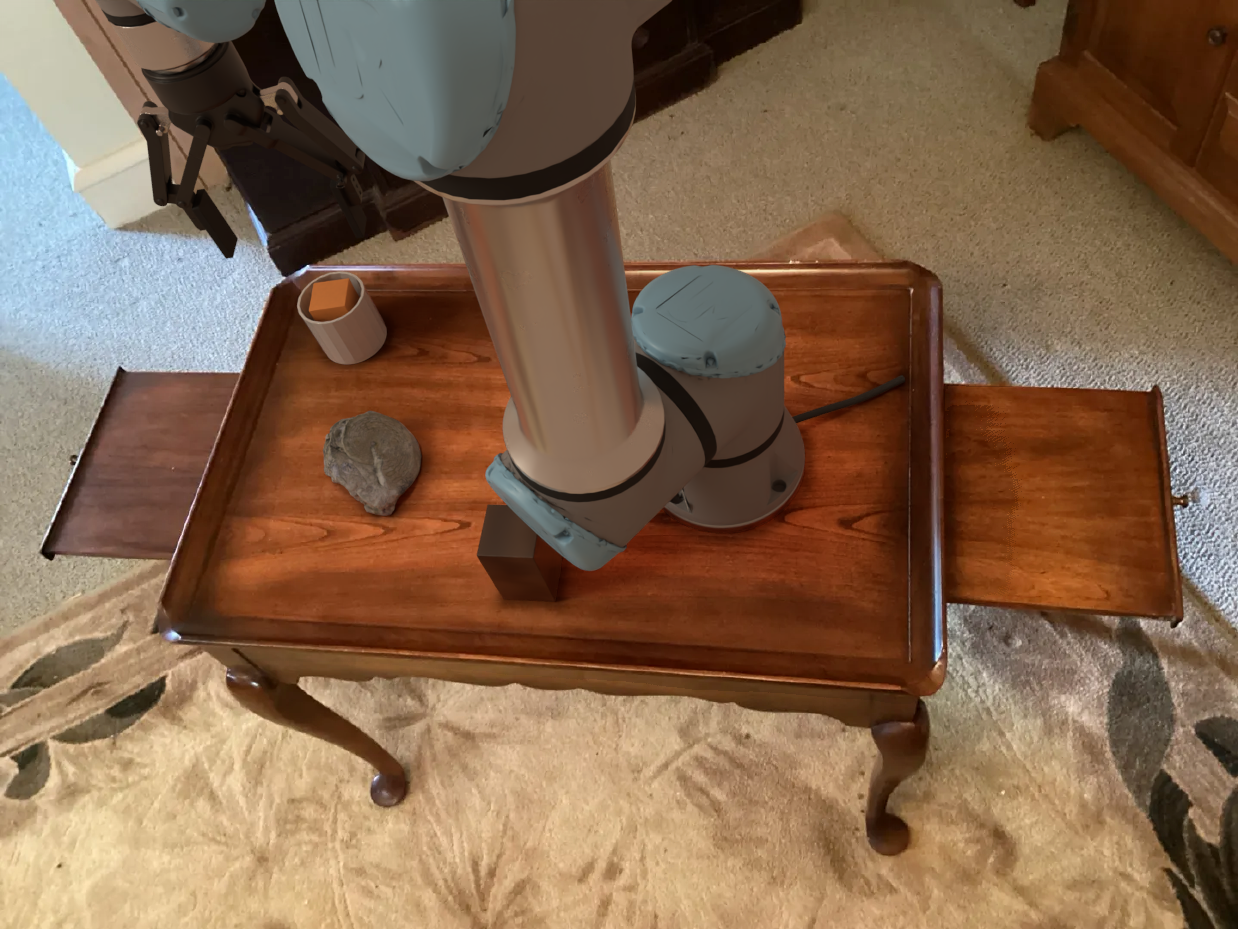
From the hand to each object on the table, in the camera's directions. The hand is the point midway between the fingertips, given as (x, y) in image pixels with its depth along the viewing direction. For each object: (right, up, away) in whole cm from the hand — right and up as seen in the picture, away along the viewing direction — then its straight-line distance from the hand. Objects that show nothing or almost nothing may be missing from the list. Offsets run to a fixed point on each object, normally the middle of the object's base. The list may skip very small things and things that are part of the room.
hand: (296, 238), depth 96 cm
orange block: (+2, -8, +13) cm, 15 cm away
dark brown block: (+24, -33, -6) cm, 41 cm away
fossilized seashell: (+7, -23, +3) cm, 24 cm away
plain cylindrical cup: (+2, -8, +13) cm, 16 cm away
